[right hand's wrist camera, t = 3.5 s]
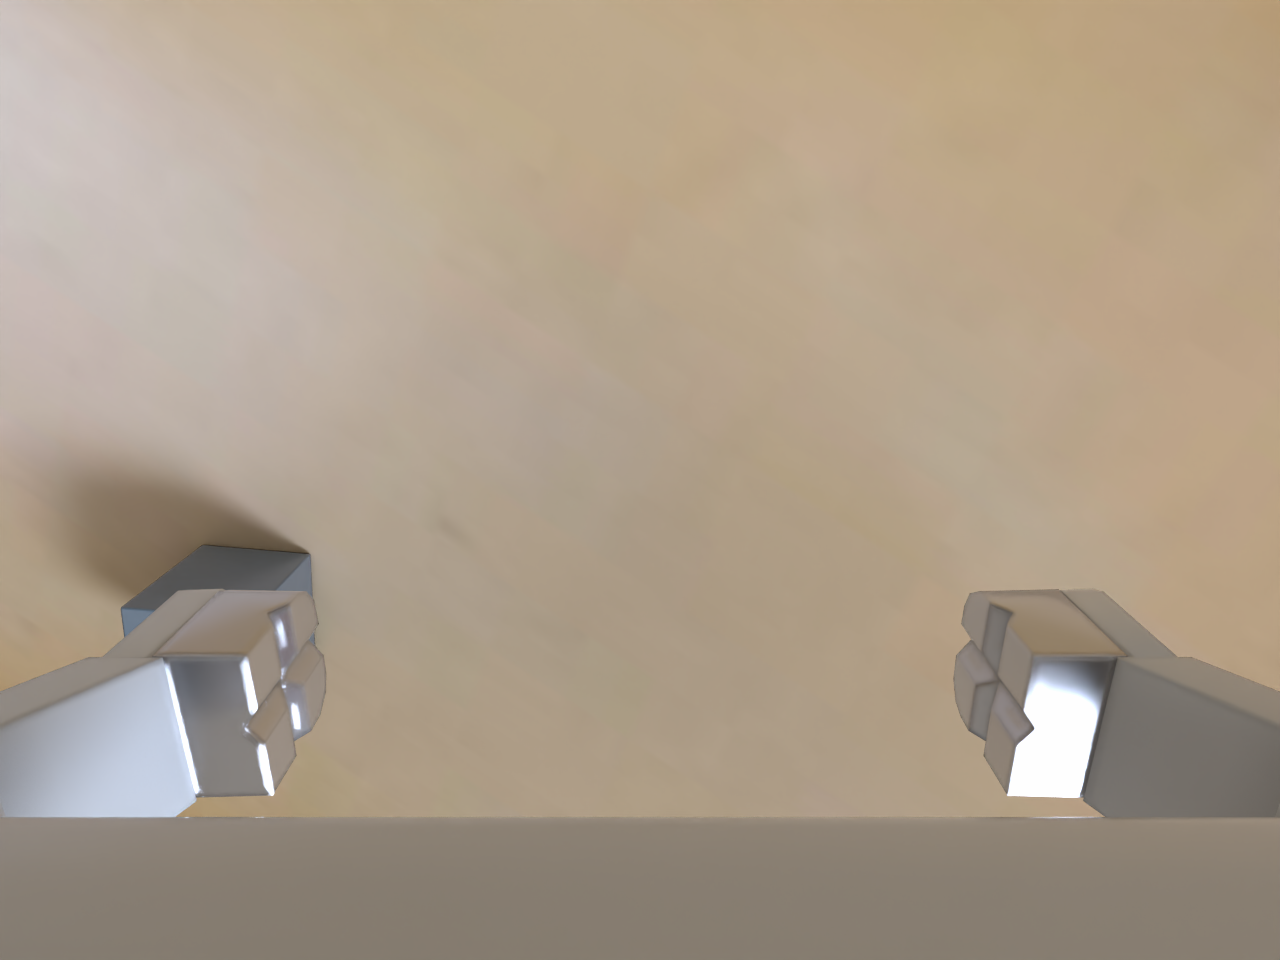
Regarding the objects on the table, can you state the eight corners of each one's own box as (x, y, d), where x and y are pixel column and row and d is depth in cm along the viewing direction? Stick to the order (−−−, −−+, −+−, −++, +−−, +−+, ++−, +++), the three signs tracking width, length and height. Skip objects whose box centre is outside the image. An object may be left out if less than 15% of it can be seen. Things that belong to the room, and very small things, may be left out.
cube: (202, 544, 30) (119, 607, 25) (311, 553, 30) (248, 617, 25) (211, 642, 31) (134, 719, 26) (315, 650, 31) (257, 728, 27)
